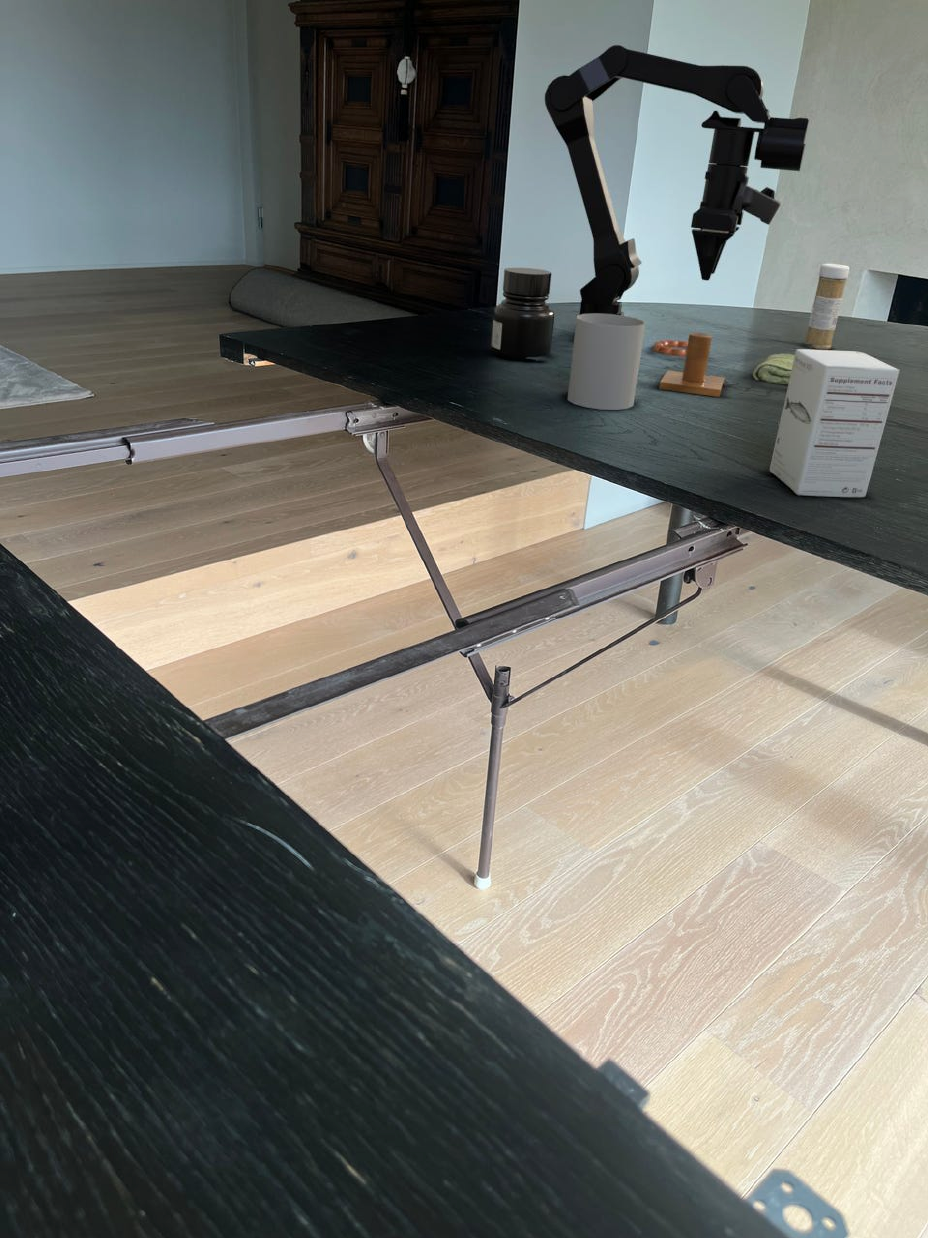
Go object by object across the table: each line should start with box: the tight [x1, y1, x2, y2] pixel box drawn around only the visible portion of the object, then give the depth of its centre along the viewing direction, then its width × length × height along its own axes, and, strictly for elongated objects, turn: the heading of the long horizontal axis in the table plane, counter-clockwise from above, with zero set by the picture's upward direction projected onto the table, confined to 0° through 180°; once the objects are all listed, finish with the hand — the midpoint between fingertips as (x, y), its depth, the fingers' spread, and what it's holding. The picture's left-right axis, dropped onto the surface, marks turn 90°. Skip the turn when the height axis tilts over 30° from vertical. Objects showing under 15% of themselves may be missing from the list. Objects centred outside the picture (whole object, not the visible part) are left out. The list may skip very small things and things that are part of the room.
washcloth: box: [752, 353, 795, 386], centre depth 136 cm, size 13×18×3 cm
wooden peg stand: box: [658, 332, 726, 398], centre depth 130 cm, size 8×8×7 cm
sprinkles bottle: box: [803, 263, 850, 350], centre depth 161 cm, size 5×5×14 cm
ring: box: [651, 339, 710, 358], centre depth 150 cm, size 9×9×2 cm
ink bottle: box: [490, 267, 555, 362], centre depth 140 cm, size 10×9×12 cm
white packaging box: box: [769, 348, 900, 498], centre depth 93 cm, size 7×7×13 cm
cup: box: [567, 313, 646, 411], centre depth 119 cm, size 8×8×10 cm
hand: (708, 276), depth 148 cm, fingers open, 9 cm apart
